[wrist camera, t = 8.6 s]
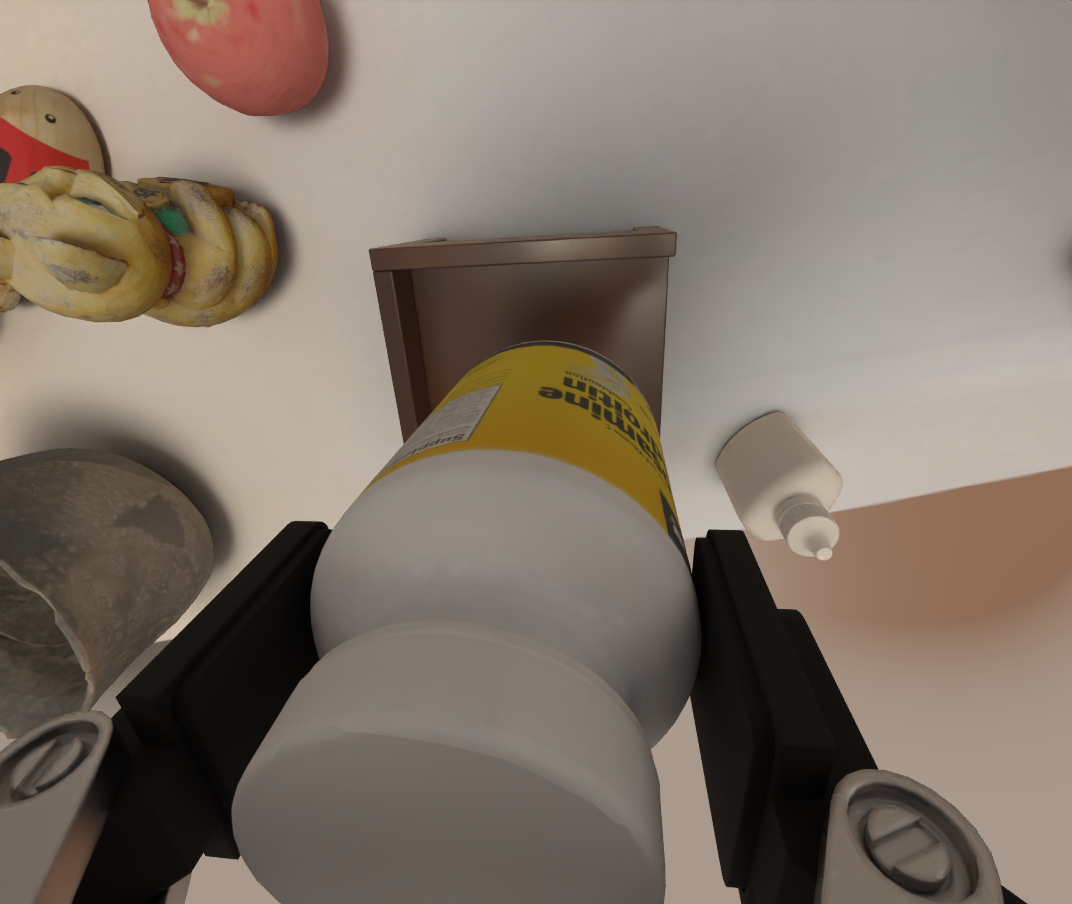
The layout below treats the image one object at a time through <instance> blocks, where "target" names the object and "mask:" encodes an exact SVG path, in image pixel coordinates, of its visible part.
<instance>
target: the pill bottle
mask: <svg viewBox="0 0 1072 904" xmlns="http://www.w3.org/2000/svg"><path fill="white" fill-rule="evenodd" d="M310 614H311V626H312V631H313V637H314V641H315V646H316V649H317V653H318V656H319V659H320V660H319V661H318V662H317V663H316V664H315V665H314V667H313V668H312V669H311V671H310V672H309V673H308V674H307V675H306V676H305V677H304V678H303V679H302V680H301V681H300V682H299V683H298V685H297V687H296V688H295V690H294V691H293V693H292V694H291V696H290V697H289V699H288V701H287V702H286V704H285V706H284V707H283V709H282V711H281V712H280V714H279V716H278V717H277V719H276V721H275V722H274V724H273V725H272V727H271V729H270V730H269V732H268V733H267V735H266V737H265V738H264V740H263V742H262V743H261V745H260V746H259V748H258V750H257V751H256V753H255V754H254V756H253V758H252V759H251V761H250V763H249V764H248V766H247V768H246V770H245V772H244V774H243V775H242V777H241V779H240V781H239V783H238V785H237V789H236V792H235V796H234V799H233V804H232V826H233V834H234V839H235V841H236V843H237V846H238V849H239V853H240V855H241V856H242V858H243V860H244V862H245V863H246V865H247V866H248V868H249V869H250V871H251V872H252V874H253V876H254V877H255V878H256V880H257V881H258V882H259V883H260V884H261V885H262V886H263V887H264V888H265V889H266V890H267V891H269V893H270V894H271V895H272V896H273V897H274V898H275V899H276V900H277V901H278V902H280V903H281V904H664V896H665V887H666V885H665V858H664V844H663V831H662V818H661V804H660V784H659V779H658V775H657V771H656V768H655V764H654V760H653V757H652V753H651V749H652V748H653V747H654V746H655V745H656V744H657V743H658V742H659V741H660V740H661V739H662V738H663V736H664V735H665V734H666V733H667V732H668V731H669V729H670V728H671V727H672V726H673V724H674V723H675V721H676V720H677V718H678V717H679V715H680V713H681V711H682V710H683V708H684V706H685V704H686V702H687V700H688V698H689V696H690V693H691V691H692V689H693V686H694V683H695V679H696V676H697V673H698V668H699V663H700V657H701V648H702V629H701V618H700V611H699V604H698V598H697V591H696V588H695V586H694V582H693V577H692V573H691V568H690V564H689V560H688V557H687V553H686V548H685V544H684V540H683V537H682V533H681V529H680V524H679V520H678V516H677V512H676V508H675V504H674V500H673V496H672V491H671V487H670V482H669V478H668V473H667V469H666V465H665V460H664V456H663V451H662V447H661V443H660V437H659V433H658V429H657V426H656V423H655V419H654V416H653V413H652V411H651V408H650V406H649V404H648V402H647V400H646V398H645V397H644V395H643V393H642V392H641V390H640V389H639V388H638V386H637V385H636V384H635V382H634V381H633V380H632V379H631V378H630V377H629V376H628V374H626V373H625V372H624V371H623V370H622V369H621V368H620V367H619V366H617V365H616V364H615V363H614V362H612V361H611V360H609V359H607V358H606V357H604V356H602V355H601V354H599V353H597V352H595V351H593V350H590V349H588V348H585V347H582V346H578V345H575V344H571V343H566V342H559V341H533V342H525V343H521V344H517V345H513V346H510V347H507V348H505V349H502V350H500V351H498V352H495V353H493V354H491V355H490V356H488V357H486V358H485V359H483V360H482V361H481V362H479V363H478V364H477V365H475V366H474V367H473V368H472V369H470V370H469V371H468V372H467V373H466V374H465V375H464V377H463V378H462V379H461V380H460V381H459V382H458V383H457V384H456V386H455V387H454V388H453V389H452V390H451V391H450V392H449V394H448V395H447V396H446V397H445V398H444V399H443V400H442V402H441V403H440V404H439V405H438V406H437V407H436V408H435V410H434V411H433V412H432V413H431V414H430V415H429V416H428V417H427V419H426V420H425V421H424V422H423V423H422V424H421V425H420V426H419V427H418V429H417V430H416V431H415V432H414V433H413V434H412V435H411V436H410V438H409V439H408V440H407V441H406V442H405V443H404V445H403V446H402V447H401V448H400V449H399V450H398V452H397V453H396V454H395V455H394V456H393V457H392V459H391V460H390V461H389V462H388V463H387V464H386V465H385V467H384V468H383V469H382V470H381V471H380V472H379V473H378V475H377V476H376V477H375V478H374V479H373V480H372V481H371V483H370V484H369V485H368V486H367V487H366V489H365V490H364V491H363V492H362V493H361V495H360V496H359V497H358V498H357V499H356V500H355V501H354V503H353V504H352V505H351V506H350V507H349V509H348V510H347V511H346V512H345V514H344V515H343V516H342V518H341V519H340V520H339V522H338V523H337V524H336V526H335V527H334V529H333V531H332V532H331V534H330V536H329V537H328V539H327V541H326V543H325V545H324V547H323V549H322V551H321V554H320V557H319V559H318V562H317V565H316V568H315V572H314V576H313V582H312V588H311V595H310Z"/></svg>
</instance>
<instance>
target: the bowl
mask: <svg viewBox="0 0 1072 904" xmlns="http://www.w3.org/2000/svg"><path fill="white" fill-rule="evenodd" d="M213 564H214V552H213V543H212V537H211V535H210V532H209V529H208V526H207V524H206V521H205V519H204V518H203V516H202V515H201V514H200V513H199V511H198V510H197V509H196V508H195V507H194V505H193V504H192V503H191V502H190V500H189V499H188V498H187V497H186V495H185V494H183V493H182V492H181V491H180V490H179V489H177V488H176V487H175V486H174V485H172V484H171V483H170V482H168V481H167V480H166V479H164V478H163V477H162V476H160V475H158V474H157V473H155V472H154V471H152V470H150V469H149V468H147V467H145V466H144V465H142V464H140V463H138V462H136V461H133V460H131V459H128V458H126V457H123V456H121V455H117V454H113V453H109V452H105V451H101V450H96V449H74V448H66V449H53V450H48V451H42V452H36V453H31V454H26V455H22V456H18V457H14V458H10V459H6V460H2V461H0V732H3V733H5V735H6V736H7V738H8V739H18V738H19V737H21V736H22V735H24V734H25V733H27V732H28V731H30V730H32V729H34V728H36V727H38V726H40V725H42V724H44V723H45V722H47V721H49V720H52V719H54V718H57V717H60V716H63V715H66V714H69V713H72V712H79V711H85V710H90V709H91V708H92V707H93V706H94V704H95V703H96V702H97V701H98V699H99V698H100V697H101V696H102V695H103V693H104V692H105V691H106V690H107V689H108V688H109V687H110V686H111V685H112V684H113V683H114V682H115V680H116V679H117V678H118V677H119V676H120V675H121V674H122V673H123V672H124V670H125V669H126V668H127V667H128V666H129V665H130V664H131V663H132V662H133V661H134V660H135V659H136V658H137V657H138V656H139V655H140V654H141V653H143V652H144V651H145V649H147V648H148V647H149V646H150V645H152V644H153V643H154V642H155V641H156V640H157V639H158V638H159V637H160V636H161V635H163V634H164V633H165V632H166V631H167V630H168V629H169V628H170V627H171V626H172V625H174V624H175V623H176V622H177V621H178V619H179V618H180V617H181V616H182V615H183V614H184V612H185V611H186V610H187V609H188V608H189V607H190V605H191V604H192V603H193V602H194V600H195V599H196V598H197V596H198V595H199V593H200V592H201V590H202V589H203V587H204V586H205V584H206V582H207V580H208V579H209V577H210V574H211V571H212V567H213Z"/></svg>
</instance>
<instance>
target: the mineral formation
mask: <svg viewBox="0 0 1072 904" xmlns="http://www.w3.org/2000/svg"><path fill="white" fill-rule="evenodd" d="M20 297H21V295H20V293H19V292H18V291H17V290H15V289H14V288H13V287H12V286H11V285H10V284H9V283H8V282H7V281H6V280H5V279H0V312H4V311H8V310H11V309H14V307H15V306H16V305H17V304H18V303H19V300H20Z"/></svg>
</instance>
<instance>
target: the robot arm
mask: <svg viewBox="0 0 1072 904" xmlns="http://www.w3.org/2000/svg"><path fill="white" fill-rule="evenodd" d="M332 531H333V530H331V529H328V526H327V525H326V524H325V523H323V522H315V521H293V522H291V523H289V524H288V525H287V526H286V527H285V528H284V529H283V530H282V531H281V532H280V533H279V534H278V535H277V536H276V537H275V538H274V539H273V540H272V541H271V542H270V543H269V544H268V545H267V546H266V547H265V548H264V549H263V550H262V551H261V552H260V553H259V554H258V555H257V556H256V557H255V558H254V559H253V560H252V561H251V562H250V563H249V564H248V565H247V566H246V567H245V568H244V569H243V570H242V571H241V572H240V573H239V574H238V575H237V576H236V577H235V578H234V579H233V580H232V581H231V582H230V583H229V584H228V585H227V586H226V587H225V588H224V589H223V590H222V591H221V592H220V593H219V594H218V595H217V596H216V597H215V598H214V599H213V600H212V601H211V602H210V603H209V604H208V605H207V606H206V607H205V608H204V609H203V610H202V611H201V612H200V613H199V614H198V615H197V616H196V617H195V618H194V619H193V620H192V621H191V622H190V623H189V624H188V625H187V626H186V627H185V628H184V629H183V630H182V631H181V632H180V633H179V634H178V635H177V636H176V637H175V638H174V639H173V640H172V641H171V642H170V643H169V644H168V645H167V646H166V647H165V648H164V649H163V650H162V651H161V652H160V653H159V654H158V655H157V656H156V657H155V658H154V659H153V660H152V661H151V662H150V663H149V664H148V665H147V666H146V667H145V668H144V669H143V670H142V671H141V672H140V673H139V674H138V675H137V676H136V677H135V678H134V679H133V680H132V681H131V682H130V683H129V684H128V685H127V687H125V688H124V689H123V690H122V691H121V692H120V693H119V694H118V695H117V696H116V699H117V701H118V703H119V704H120V706H121V709H120V710H119V711H118V712H117V713H116V714H115V715H114V716H113V717H112V718H110V717H109V716H107V715H106V714H104V713H103V712H101V711H93V710H85V711H79V712H72V713H69V714H66V715H63V716H60V717H57V718H54V719H52V720H49V721H47V722H45V723H44V724H42V725H40V726H38V727H36V728H34V729H32V730H30V731H28V732H27V733H25V734H24V735H22V736H21V737H19V738H18V739H16V740H15V741H13V742H12V743H10V744H9V745H8V746H7V747H5V748H4V749H3V750H2V751H1V752H0V904H184V903H185V899H186V895H187V891H188V887H189V883H190V879H191V872H192V870H193V869H194V867H195V865H196V864H197V862H198V861H199V859H200V857H201V856H202V854H203V853H204V854H205V856H210V857H219V858H228V859H237V860H238V859H239V857H240V853H239V849H238V846H237V843H236V841H235V839H234V834H233V826H232V804H233V799H234V796H235V792H236V789H237V785H238V783H239V781H240V779H241V777H242V775H243V774H244V772H245V770H246V768H247V766H248V764H249V763H250V761H251V759H252V758H253V756H254V754H255V753H256V751H257V750H258V748H259V746H260V745H261V743H262V742H263V740H264V738H265V737H266V735H267V733H268V732H269V730H270V729H271V727H272V725H273V724H274V722H275V721H276V719H277V717H278V716H279V714H280V712H281V711H282V709H283V707H284V706H285V704H286V702H287V701H288V699H289V697H290V696H291V694H292V693H293V691H294V690H295V688H296V687H297V685H298V683H299V682H300V681H301V680H302V679H303V678H304V677H305V676H306V675H307V674H308V673H309V672H310V671H311V669H312V668H313V667H314V665H315V664H316V663H317V662H318V661H319V660H320V659H319V656H318V653H317V649H316V646H315V641H314V637H313V631H312V626H311V614H310V595H311V588H312V582H313V576H314V572H315V568H316V565H317V562H318V559H319V557H320V554H321V551H322V549H323V547H324V545H325V543H326V541H327V539H328V537H329V536H330V534H331V532H332ZM692 577H693V582H694V586H695V588H696V591H697V598H698V604H699V611H700V618H701V629H702V648H701V657H700V663H699V668H698V673H697V676H696V679H695V683H694V686H693V689H692V691H691V693H690V698H691V703H692V709H693V714H694V720H695V726H696V731H697V737H698V743H699V748H700V754H701V760H702V765H703V771H704V776H705V782H706V788H707V793H708V799H709V804H710V810H711V816H712V821H713V827H714V833H715V838H716V844H717V849H718V855H719V861H720V866H721V871H722V876H723V880H724V883H725V885H726V887H734V888H738V889H739V894H740V899H741V904H1027V903H1026V902H1024V901H1023V900H1021V899H1020V898H1019V897H1017V896H1016V895H1014V894H1013V893H1012V892H1010V891H1009V890H1007V889H1006V888H1005V887H1003V886H1002V885H1001V882H1000V877H999V874H998V871H997V868H996V865H995V862H994V859H993V856H992V853H991V852H990V850H989V849H988V847H987V845H986V844H985V842H984V841H983V839H982V838H981V836H980V834H979V833H978V831H977V830H976V829H975V827H973V825H972V824H971V823H970V822H969V821H968V820H967V819H966V818H965V817H964V816H963V815H962V814H961V813H960V812H959V810H958V809H957V808H956V807H955V806H953V805H952V804H951V803H949V802H948V801H947V800H945V799H944V798H943V797H941V796H940V795H939V794H937V793H936V792H935V791H933V790H932V789H930V788H928V787H926V786H925V785H923V784H921V783H918V782H917V781H915V780H913V779H911V778H909V777H907V776H903V775H900V774H897V773H893V772H890V771H886V770H878V768H877V765H876V764H875V761H874V759H873V757H872V755H871V753H870V751H869V749H868V747H867V745H866V743H865V741H864V739H863V737H862V735H861V733H860V731H859V729H858V727H857V725H856V723H855V721H854V719H853V716H852V714H851V712H850V710H849V708H848V706H847V704H846V702H845V700H844V698H843V696H842V694H841V692H840V690H839V688H838V686H837V684H836V682H835V680H834V678H833V676H832V674H831V672H830V670H829V668H828V666H827V663H826V662H825V660H824V657H823V655H822V653H821V651H820V649H819V647H818V645H817V643H816V641H815V639H814V637H813V635H812V633H811V631H810V629H809V627H808V625H807V623H806V621H805V619H804V617H803V616H802V614H801V613H800V612H799V611H797V610H791V609H777V607H776V605H775V603H774V600H773V598H772V596H771V593H770V591H769V589H768V586H767V584H766V582H765V580H764V577H763V575H762V573H761V570H760V568H759V566H758V564H757V561H756V559H755V557H754V554H753V552H752V550H751V547H750V545H749V543H748V540H747V538H746V536H745V534H744V532H743V531H741V530H708V532H707V535H706V538H696V541H695V547H694V558H693V568H692Z"/></svg>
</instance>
